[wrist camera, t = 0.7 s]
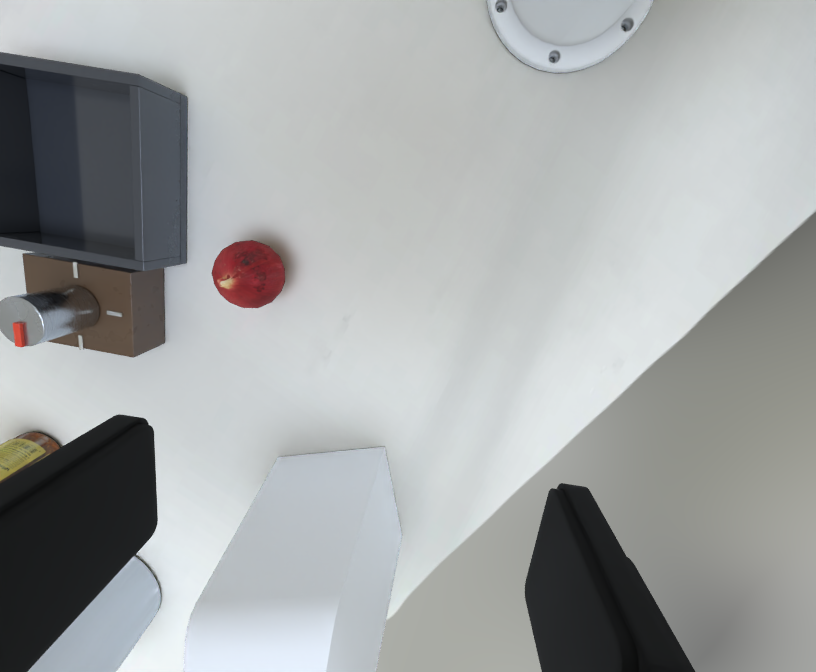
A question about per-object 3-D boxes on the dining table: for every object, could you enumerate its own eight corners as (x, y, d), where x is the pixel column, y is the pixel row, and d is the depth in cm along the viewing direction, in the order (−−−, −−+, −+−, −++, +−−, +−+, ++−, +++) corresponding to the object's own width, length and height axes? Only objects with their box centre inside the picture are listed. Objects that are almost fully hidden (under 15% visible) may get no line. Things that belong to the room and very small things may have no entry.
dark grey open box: (27, 70, 37) (-50, 43, 31) (187, 96, 36) (139, 74, 30) (43, 238, 41) (-23, 242, 35) (186, 263, 40) (144, 271, 35)
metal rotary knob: (55, 281, 37) (-13, 293, 31) (98, 289, 37) (37, 302, 31) (59, 324, 38) (-6, 342, 33) (101, 331, 38) (42, 351, 32)
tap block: (66, 248, 41) (19, 252, 36) (164, 265, 40) (129, 271, 36) (72, 327, 43) (29, 340, 39) (165, 344, 43) (132, 359, 38)
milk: (384, 446, 44) (308, 745, 19) (402, 535, 47) (355, 893, 22) (278, 457, 46) (79, 748, 21) (301, 542, 49) (153, 886, 24)
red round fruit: (262, 225, 39) (217, 227, 31) (308, 268, 39) (276, 281, 32) (226, 270, 40) (175, 283, 32) (272, 310, 41) (232, 333, 33)
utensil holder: (96, 640, 56) (-52, 821, 39) (32, 555, 53) (-160, 713, 36) (186, 615, 53) (68, 798, 37) (124, 524, 50) (-37, 680, 33)
